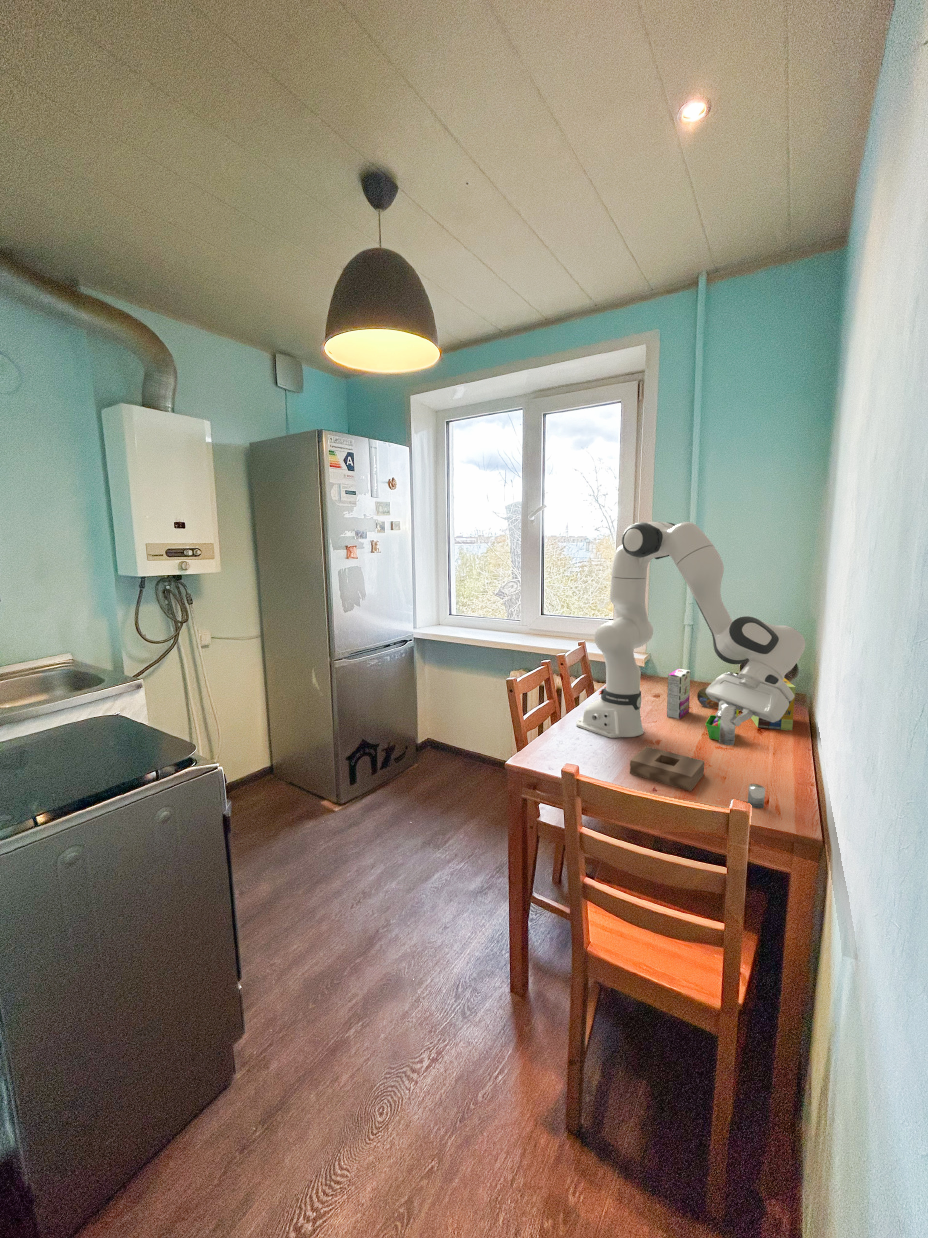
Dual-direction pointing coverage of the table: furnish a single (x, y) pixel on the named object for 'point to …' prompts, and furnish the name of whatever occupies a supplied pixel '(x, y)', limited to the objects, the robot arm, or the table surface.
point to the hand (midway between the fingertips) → (726, 721)
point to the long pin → (727, 724)
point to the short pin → (756, 796)
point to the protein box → (785, 720)
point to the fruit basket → (714, 726)
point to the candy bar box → (678, 693)
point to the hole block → (667, 768)
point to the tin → (706, 699)
